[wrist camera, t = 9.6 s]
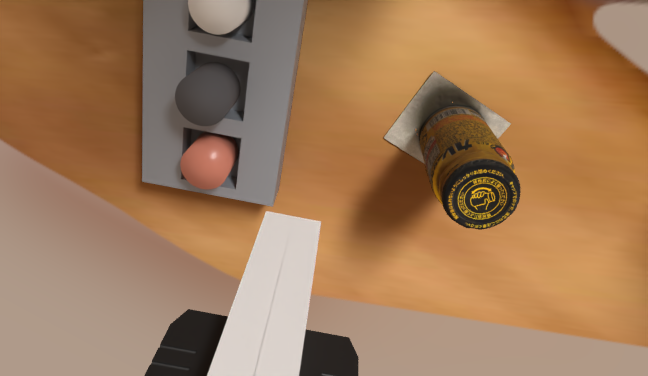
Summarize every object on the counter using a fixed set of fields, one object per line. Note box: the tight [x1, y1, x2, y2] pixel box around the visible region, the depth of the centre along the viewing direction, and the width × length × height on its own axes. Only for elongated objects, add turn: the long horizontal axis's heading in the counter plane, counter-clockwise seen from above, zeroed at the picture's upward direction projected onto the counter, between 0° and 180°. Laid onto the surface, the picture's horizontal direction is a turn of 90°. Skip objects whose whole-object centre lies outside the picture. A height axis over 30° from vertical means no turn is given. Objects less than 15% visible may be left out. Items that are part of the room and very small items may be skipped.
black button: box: [175, 62, 241, 126], centre depth 37 cm, size 4×4×4 cm
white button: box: [188, 0, 254, 35], centre depth 36 cm, size 4×4×4 cm
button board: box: [142, 0, 308, 207], centre depth 40 cm, size 20×12×4 cm, turn 170°
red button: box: [180, 131, 238, 190], centre depth 42 cm, size 4×4×4 cm
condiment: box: [384, 71, 520, 229], centre depth 38 cm, size 7×8×12 cm
